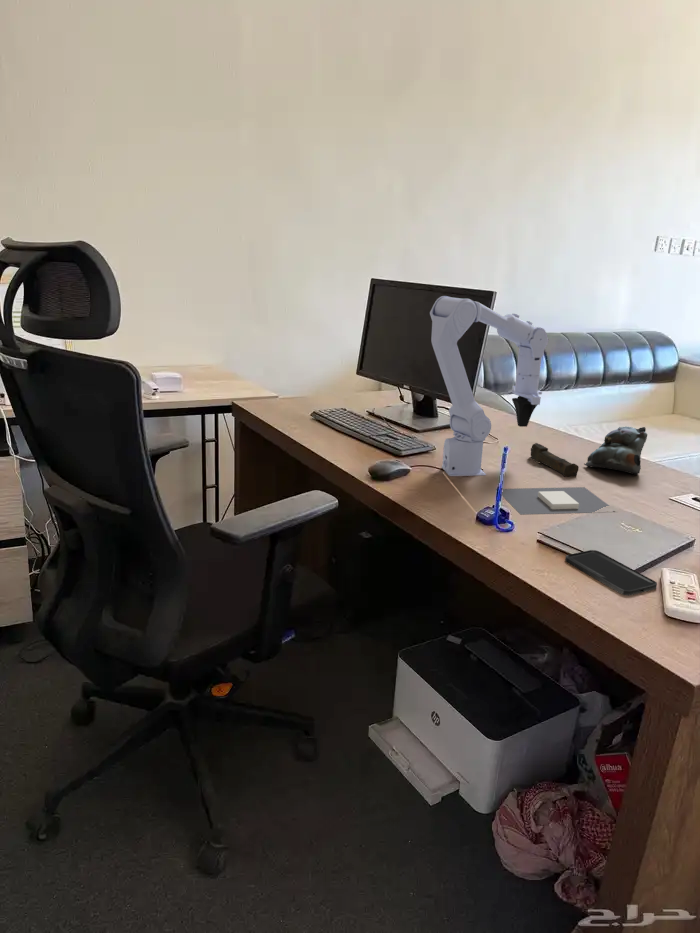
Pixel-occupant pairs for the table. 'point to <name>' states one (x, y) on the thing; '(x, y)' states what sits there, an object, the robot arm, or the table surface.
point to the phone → (611, 572)
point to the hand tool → (553, 461)
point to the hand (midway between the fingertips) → (522, 426)
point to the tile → (558, 500)
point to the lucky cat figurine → (620, 450)
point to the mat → (532, 504)
